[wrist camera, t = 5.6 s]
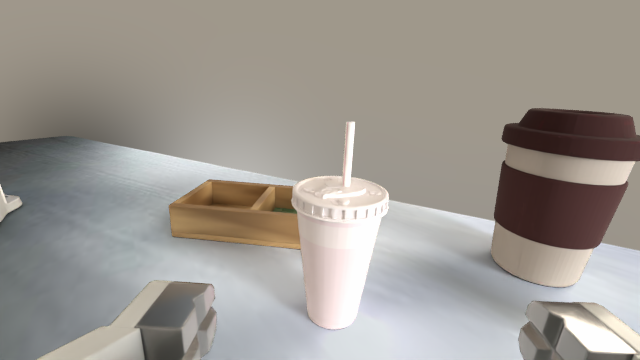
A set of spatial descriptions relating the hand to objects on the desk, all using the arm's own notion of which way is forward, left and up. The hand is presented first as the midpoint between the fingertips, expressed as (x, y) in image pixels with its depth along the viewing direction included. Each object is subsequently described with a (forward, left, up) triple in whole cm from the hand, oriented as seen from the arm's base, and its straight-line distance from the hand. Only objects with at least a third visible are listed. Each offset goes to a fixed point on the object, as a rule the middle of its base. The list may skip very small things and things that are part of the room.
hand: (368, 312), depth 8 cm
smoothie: (-4, +11, -11) cm, 16 cm away
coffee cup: (+12, +25, -11) cm, 30 cm away
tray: (-16, +21, -10) cm, 29 cm away
